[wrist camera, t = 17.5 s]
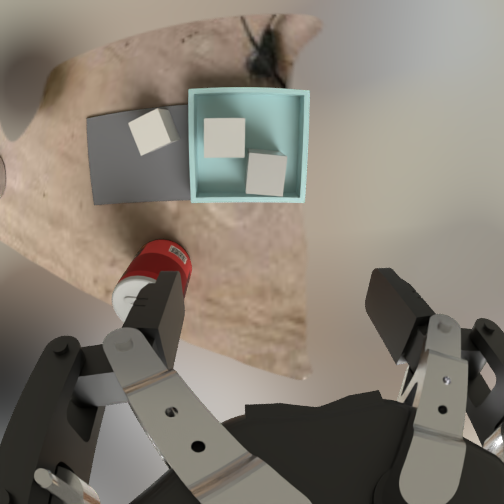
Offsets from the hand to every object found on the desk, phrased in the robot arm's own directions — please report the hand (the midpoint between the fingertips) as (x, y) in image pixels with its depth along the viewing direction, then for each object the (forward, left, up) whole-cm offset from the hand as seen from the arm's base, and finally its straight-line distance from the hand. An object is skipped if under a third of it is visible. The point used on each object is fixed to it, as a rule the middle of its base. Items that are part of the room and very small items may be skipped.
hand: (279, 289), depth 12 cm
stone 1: (-11, +6, -25) cm, 28 cm away
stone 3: (+1, +1, -25) cm, 25 cm away
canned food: (-12, -12, -26) cm, 31 cm away
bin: (-1, +4, -26) cm, 26 cm away
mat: (-15, +3, -26) cm, 30 cm away
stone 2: (-3, +5, -25) cm, 26 cm away
